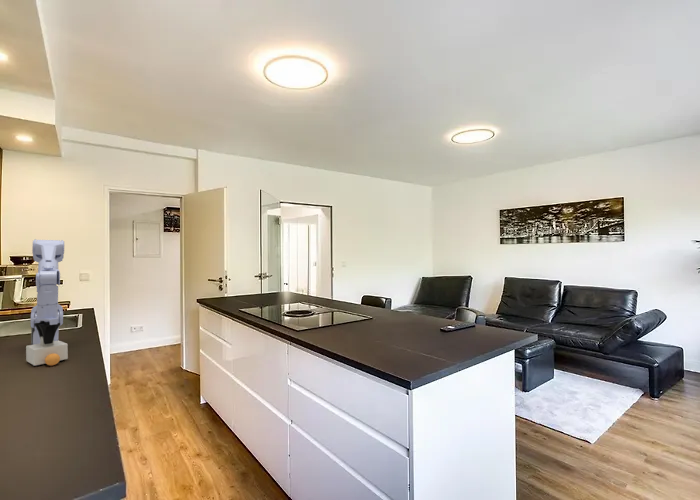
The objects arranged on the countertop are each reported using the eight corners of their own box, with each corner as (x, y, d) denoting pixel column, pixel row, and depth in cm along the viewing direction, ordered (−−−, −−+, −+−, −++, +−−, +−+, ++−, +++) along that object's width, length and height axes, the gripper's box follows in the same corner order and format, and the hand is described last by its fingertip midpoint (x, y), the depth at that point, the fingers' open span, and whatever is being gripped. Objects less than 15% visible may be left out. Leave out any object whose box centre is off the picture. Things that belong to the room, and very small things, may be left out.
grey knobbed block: (26, 360, 125) (26, 337, 125) (58, 354, 133) (58, 332, 133) (34, 365, 120) (34, 340, 120) (67, 358, 127) (67, 335, 127)
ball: (44, 352, 121) (47, 359, 119) (58, 349, 124) (62, 356, 122) (42, 362, 122) (45, 369, 120) (57, 359, 125) (60, 366, 123)
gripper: (26, 303, 127) (25, 342, 127) (39, 307, 119) (38, 348, 119) (51, 301, 133) (50, 338, 133) (65, 305, 125) (64, 344, 124)
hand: (46, 342), depth 126 cm, fingers closed on grey knobbed block, 3 cm apart
